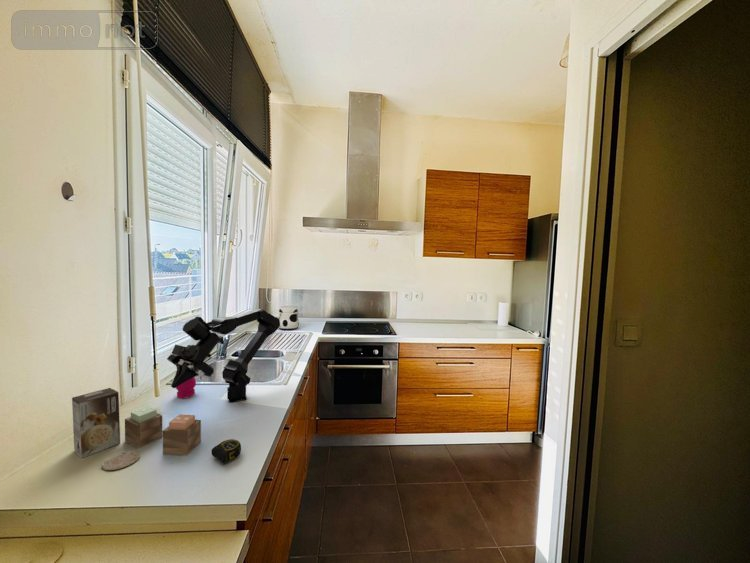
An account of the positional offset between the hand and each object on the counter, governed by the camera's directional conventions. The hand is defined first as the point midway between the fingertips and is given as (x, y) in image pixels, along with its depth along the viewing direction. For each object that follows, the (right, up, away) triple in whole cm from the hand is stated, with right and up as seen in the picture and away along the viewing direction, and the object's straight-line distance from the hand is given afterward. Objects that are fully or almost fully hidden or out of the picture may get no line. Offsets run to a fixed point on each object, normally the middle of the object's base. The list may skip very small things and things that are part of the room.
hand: (172, 387), depth 104 cm
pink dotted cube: (+10, -10, -11) cm, 18 cm away
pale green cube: (-4, -9, -7) cm, 13 cm away
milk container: (-4, -4, +155) cm, 155 cm away
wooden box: (+10, -14, -11) cm, 20 cm away
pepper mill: (-11, -12, +25) cm, 30 cm away
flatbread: (-3, -15, -18) cm, 23 cm away
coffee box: (-15, -14, -12) cm, 23 cm away
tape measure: (+25, -16, -15) cm, 33 cm away
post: (-4, -14, -7) cm, 16 cm away
